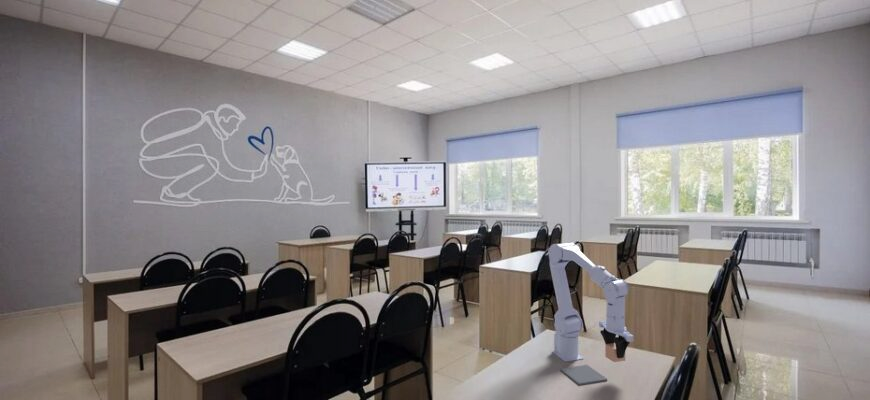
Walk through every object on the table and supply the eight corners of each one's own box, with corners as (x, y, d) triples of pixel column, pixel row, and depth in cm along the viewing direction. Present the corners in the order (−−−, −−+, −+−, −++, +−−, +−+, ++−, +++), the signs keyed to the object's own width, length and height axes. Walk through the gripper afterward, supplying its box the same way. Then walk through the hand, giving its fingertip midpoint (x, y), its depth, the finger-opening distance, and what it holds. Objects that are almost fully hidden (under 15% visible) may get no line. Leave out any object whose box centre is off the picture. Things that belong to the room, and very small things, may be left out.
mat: (560, 370, 144) (560, 368, 144) (587, 366, 146) (587, 364, 146) (579, 385, 133) (579, 383, 133) (607, 380, 136) (607, 378, 136)
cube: (605, 356, 138) (605, 344, 138) (616, 355, 140) (616, 342, 139) (614, 362, 134) (614, 349, 134) (625, 360, 135) (625, 347, 135)
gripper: (641, 321, 130) (640, 362, 131) (611, 307, 144) (610, 344, 145) (623, 323, 128) (622, 364, 129) (594, 309, 142) (593, 347, 143)
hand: (615, 354), depth 137 cm, fingers closed on cube, 4 cm apart
